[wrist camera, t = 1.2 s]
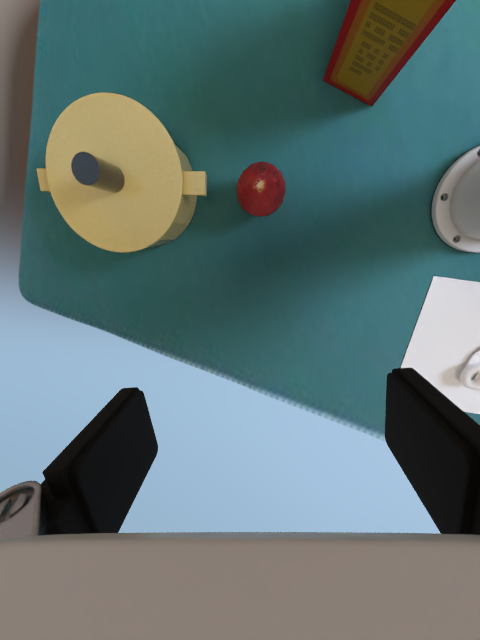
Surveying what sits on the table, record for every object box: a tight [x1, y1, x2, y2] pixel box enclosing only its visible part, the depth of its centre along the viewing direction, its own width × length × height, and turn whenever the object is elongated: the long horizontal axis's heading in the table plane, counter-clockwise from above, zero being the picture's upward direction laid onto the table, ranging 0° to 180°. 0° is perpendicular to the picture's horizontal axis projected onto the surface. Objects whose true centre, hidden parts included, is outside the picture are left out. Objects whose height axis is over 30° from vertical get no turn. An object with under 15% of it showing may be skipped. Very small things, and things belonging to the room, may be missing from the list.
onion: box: [237, 162, 285, 217], centre depth 31 cm, size 6×6×8 cm
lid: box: [46, 93, 184, 252], centre depth 27 cm, size 16×16×6 cm
